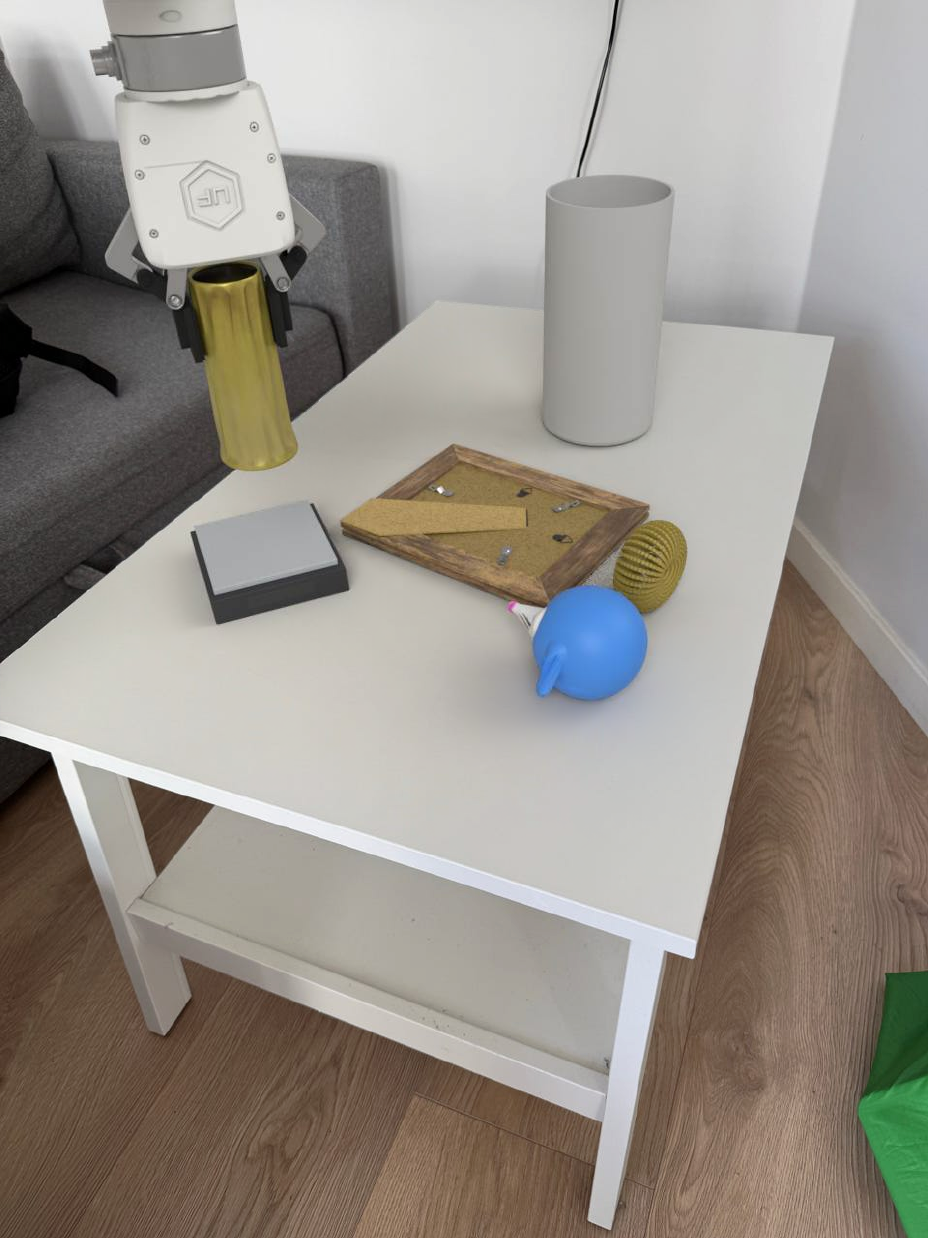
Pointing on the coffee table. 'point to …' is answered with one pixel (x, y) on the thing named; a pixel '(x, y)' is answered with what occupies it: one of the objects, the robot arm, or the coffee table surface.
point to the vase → (242, 365)
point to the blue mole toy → (585, 641)
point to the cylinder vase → (604, 305)
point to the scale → (267, 561)
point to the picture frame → (497, 524)
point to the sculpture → (650, 564)
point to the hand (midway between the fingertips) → (238, 346)
